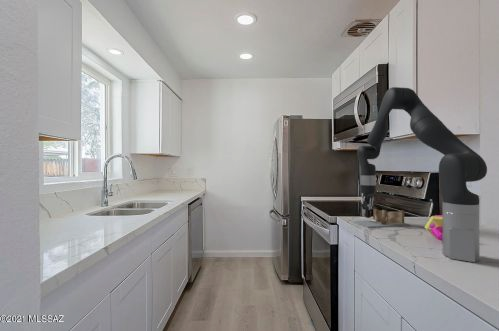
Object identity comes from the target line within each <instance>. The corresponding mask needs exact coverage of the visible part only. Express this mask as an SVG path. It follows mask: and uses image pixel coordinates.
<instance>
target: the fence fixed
mask: <svg viewBox="0 0 499 331" xmlns="http://www.w3.org/2000/svg"><path fill="white" fill-rule="evenodd" d="M381 211H382V224H383V225H386V220H387V223H405V210H403V209H401V210H398V211H387V209H381Z"/></svg>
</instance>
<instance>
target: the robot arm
mask: <svg viewBox="0 0 499 331" xmlns="http://www.w3.org/2000/svg"><path fill="white" fill-rule="evenodd" d="M393 110H402V111H405V112H406V113H407V114H408V115H409V117H410V121H409V129H410V130H411V132H412V133H413V134H414V135H415V137H416V138H417V139H418V141H420V142H422V143H423V144H424V145H426V146H427V147H429V148H431V149H433V150H435V151H437V152H438V153H441V154H442V155H444V156H442V157H441V159H440V161H439V162H438V163H439V164H438V180H439V182H438V184H439V192H440V195H441V197H442V215H443V241H442V255H444V256H445V257H447V258H449V259H452V260H458V261H463V262H464V261H466V262H470V263H476V262H478V261H480V258H481V256H480V252H481V251H480V249H481V248H480V195H478V194H477V193H474V192H472V191H470V190H469V189H468V186H467V182H468V183H471V182H478V181H481V180H483V179H484V178H485V177H486V175H487V173H488V166H487V163H486V161H485V160H484V158H483V157H482V156H481V155H479V154H478V153H477V152H476V151H475V150H473V149H472V148H471V147H469V146H468V145H467V144H465V143H464V142H463V141H462V140H460V138H458V136H456V135H455V134H454V133H453V131H451V130H450V128H448V127H447V126H446V125H445V124H444V123H443V122H442V121H441V119H439V118H438V117H437V116H436V115H435V114H434V113H433V112H432V111H431V110H430V109H429V108H428V106H426V105H425V104H424V102H423V101H422V99H420V97H419V95H418V94H417V93H416V92H415V90H413V89H412V88H409V87H397V86H394V87H390V88H389V89H387V90H386V92H385V93H384V95H383V98H382V101H381V104H380V106H379V110H378V113H377V116H376V120H375V122H374V125H373V127H372V129H371V131H370V133H369V135H368V137H367V139H366V141H367V142H366V143H367V144H368V145H361V146H358V149H357V150H356V155H357V159H358V164H359V166H360V180H359V181H360V182H359V189H360V192H359V193H360V194H362V196H361V197H362V199H360V200H359V204H360V206H361V209H362V210H364V211H365V212H364V215H365V218H367V219H370V218H371V217H372V211H373V208H374V207H375V206H376V202H377V199H376V198H374V197H375V196H374V195H375V194H377V177H376V176H377V175H376V165H375V164H373V163H370V162H369V160H375V159H378V157H379V156H380V153H381V149H382V145H383V143H384V140H385V139H386V137H387V136H388V133H389V122H388V117H389V115H390V112H391V111H393Z"/></svg>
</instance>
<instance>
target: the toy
mask: <svg viewBox="0 0 499 331" xmlns="http://www.w3.org/2000/svg"><path fill="white" fill-rule="evenodd" d="M424 229H426V230H427V231H428V232H429V233H430V234H431V235H432V236H433V237H434V238H435V239H437V240H439V241H440V242H443V214H439V215H437V214H434V215H431V217H430V218H429V220H428V221H427V223H426V224H425V226H424Z"/></svg>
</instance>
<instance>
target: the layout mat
mask: <svg viewBox="0 0 499 331" xmlns="http://www.w3.org/2000/svg"><path fill="white" fill-rule="evenodd" d="M352 223H354V224H357V225H358V226H362V227H364V228H366V229H367V228H368V229H370V228H389V227H393V228H394V227H408V226H411V224H409V223H406V222H404V223H387V219H386V225H383V224H382V223H381V222H379V221H377V220H375V219H372V220H355V221H354V220H353V222H352Z"/></svg>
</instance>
